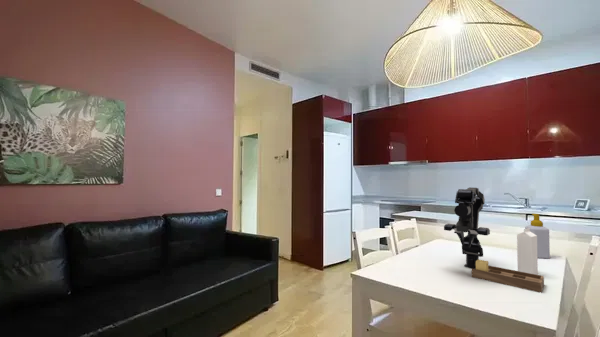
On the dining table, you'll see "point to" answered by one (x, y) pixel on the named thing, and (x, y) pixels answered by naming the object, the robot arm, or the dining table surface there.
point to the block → (482, 265)
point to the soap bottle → (540, 237)
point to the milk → (527, 252)
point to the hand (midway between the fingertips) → (466, 246)
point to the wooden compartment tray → (511, 278)
